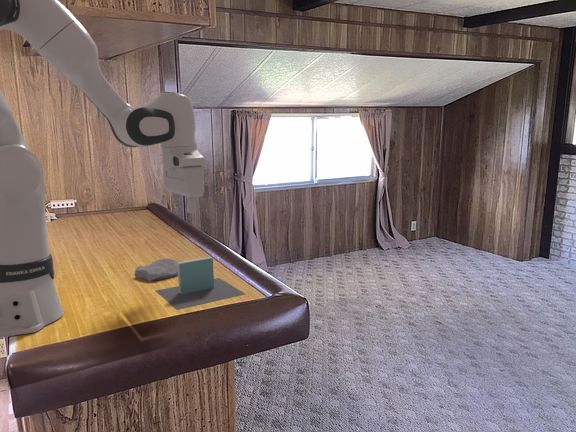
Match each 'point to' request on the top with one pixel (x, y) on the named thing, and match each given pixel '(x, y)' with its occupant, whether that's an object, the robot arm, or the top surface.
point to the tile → (195, 275)
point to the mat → (199, 295)
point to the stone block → (158, 270)
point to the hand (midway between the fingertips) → (184, 210)
